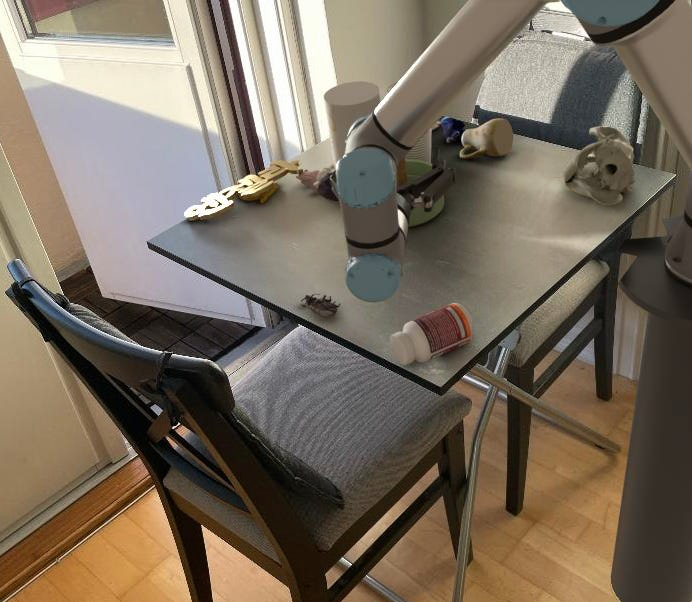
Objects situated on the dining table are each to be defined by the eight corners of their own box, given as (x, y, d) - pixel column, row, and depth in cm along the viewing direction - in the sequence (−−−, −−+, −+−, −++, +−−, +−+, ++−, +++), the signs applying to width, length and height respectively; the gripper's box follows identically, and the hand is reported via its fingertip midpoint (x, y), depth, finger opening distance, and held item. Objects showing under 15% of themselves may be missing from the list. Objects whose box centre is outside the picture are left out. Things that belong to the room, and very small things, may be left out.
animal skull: (566, 187, 154) (547, 124, 149) (632, 165, 151) (616, 99, 145) (574, 222, 139) (554, 153, 134) (649, 198, 135) (631, 126, 130)
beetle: (322, 299, 131) (321, 282, 129) (342, 318, 126) (341, 300, 124) (300, 305, 130) (299, 288, 128) (319, 325, 125) (318, 307, 123)
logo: (278, 186, 161) (244, 182, 164) (278, 183, 160) (244, 179, 164) (262, 203, 157) (228, 198, 160) (262, 199, 156) (227, 195, 159)
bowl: (458, 197, 148) (457, 167, 145) (417, 236, 140) (414, 206, 137) (393, 182, 156) (390, 154, 152) (350, 219, 148) (346, 190, 144)
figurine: (324, 164, 162) (370, 170, 150) (320, 197, 163) (365, 205, 152) (284, 158, 156) (328, 164, 145) (280, 192, 158) (323, 201, 146)
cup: (437, 152, 163) (432, 76, 152) (437, 173, 156) (431, 95, 146) (395, 155, 164) (387, 81, 154) (393, 176, 158) (385, 100, 147)
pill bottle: (452, 293, 116) (386, 320, 113) (477, 318, 112) (409, 347, 109) (451, 324, 121) (387, 351, 118) (474, 349, 117) (409, 378, 114)
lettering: (197, 227, 151) (195, 223, 150) (180, 214, 159) (178, 210, 158) (309, 167, 157) (307, 163, 157) (286, 158, 165) (285, 154, 165)
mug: (468, 139, 165) (493, 99, 158) (501, 171, 162) (528, 131, 155) (447, 146, 160) (471, 105, 153) (480, 179, 158) (507, 138, 150)
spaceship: (475, 144, 162) (456, 158, 165) (478, 128, 166) (460, 143, 169) (450, 118, 159) (431, 133, 162) (454, 103, 163) (436, 118, 167)
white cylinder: (343, 155, 167) (332, 82, 157) (392, 155, 164) (385, 81, 154) (329, 180, 160) (316, 105, 150) (380, 181, 157) (371, 105, 147)
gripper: (306, 248, 125) (327, 180, 141) (468, 242, 120) (472, 172, 136) (297, 205, 120) (320, 140, 136) (467, 198, 116) (470, 130, 131)
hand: (396, 156), depth 136 cm, fingers open, 13 cm apart
